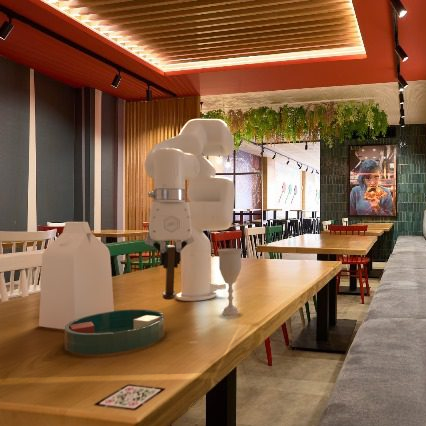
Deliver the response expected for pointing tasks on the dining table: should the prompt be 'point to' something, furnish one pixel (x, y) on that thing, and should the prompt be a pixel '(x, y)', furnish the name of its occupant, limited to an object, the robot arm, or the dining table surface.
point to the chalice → (230, 274)
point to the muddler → (170, 274)
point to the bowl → (114, 332)
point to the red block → (83, 327)
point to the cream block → (145, 321)
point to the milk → (75, 277)
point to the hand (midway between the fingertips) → (170, 267)
